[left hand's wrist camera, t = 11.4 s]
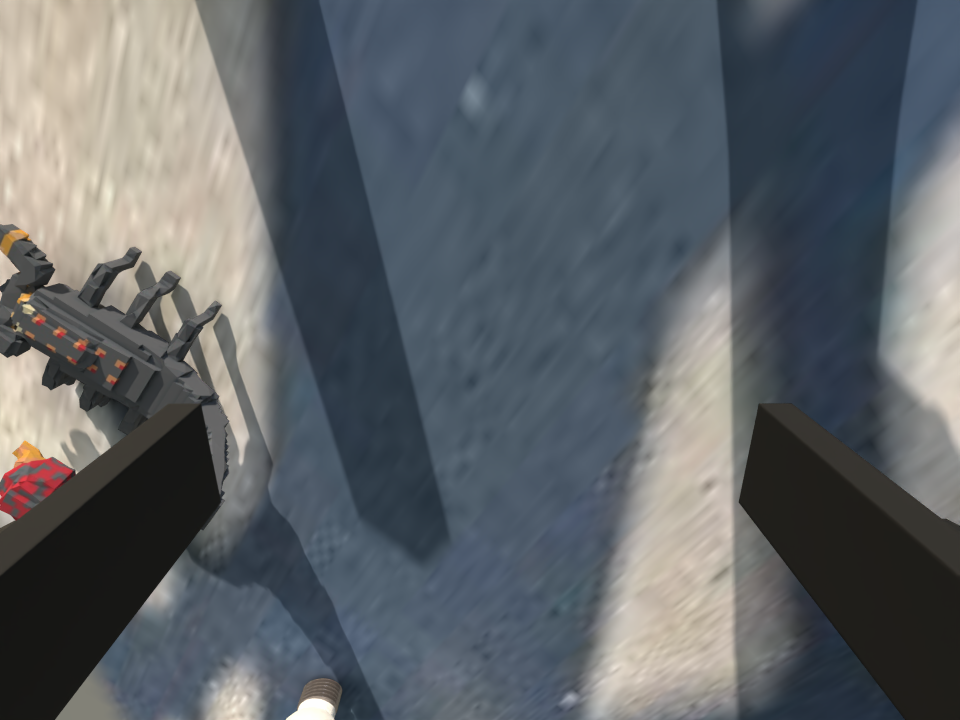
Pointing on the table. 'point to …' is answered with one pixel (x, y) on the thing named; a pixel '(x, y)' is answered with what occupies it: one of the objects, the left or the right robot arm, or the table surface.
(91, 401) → the toy
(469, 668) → the table surface
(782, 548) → the left robot arm
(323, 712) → the light bulb
